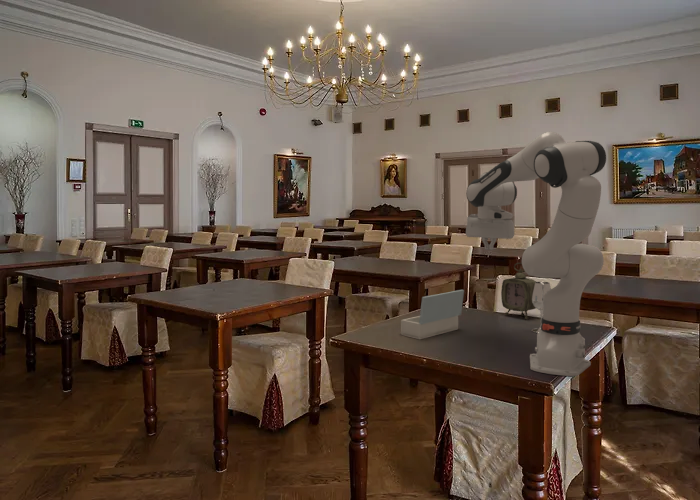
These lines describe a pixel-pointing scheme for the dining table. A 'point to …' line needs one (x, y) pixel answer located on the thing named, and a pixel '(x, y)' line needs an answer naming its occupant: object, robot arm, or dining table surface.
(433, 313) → the panel
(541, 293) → the wineglass
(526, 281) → the tabletop clock
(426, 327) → the white open box
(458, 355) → the dining table surface
